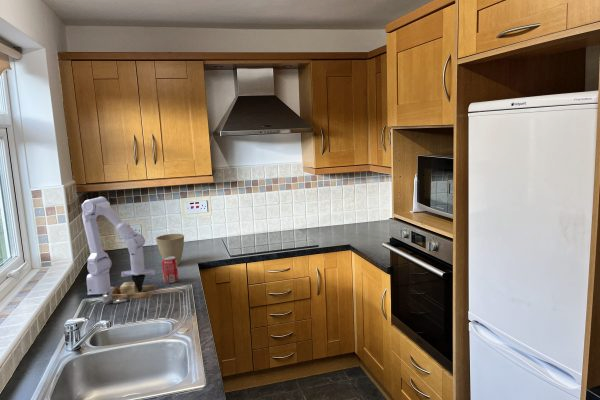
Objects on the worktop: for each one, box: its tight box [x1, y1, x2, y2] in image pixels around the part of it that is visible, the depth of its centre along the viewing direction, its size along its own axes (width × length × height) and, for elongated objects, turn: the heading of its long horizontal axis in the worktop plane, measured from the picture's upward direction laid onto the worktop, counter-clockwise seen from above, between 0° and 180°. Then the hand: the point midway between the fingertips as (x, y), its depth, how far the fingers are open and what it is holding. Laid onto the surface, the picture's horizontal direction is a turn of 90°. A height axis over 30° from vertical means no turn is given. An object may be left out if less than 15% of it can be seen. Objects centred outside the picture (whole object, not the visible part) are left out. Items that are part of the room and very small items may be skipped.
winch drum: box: [102, 291, 114, 305], centre depth 197 cm, size 4×4×5 cm
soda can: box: [161, 256, 179, 284], centre depth 221 cm, size 7×7×12 cm
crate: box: [119, 281, 139, 294], centre depth 205 cm, size 6×6×5 cm
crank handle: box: [113, 295, 131, 305], centre depth 197 cm, size 7×1×2 cm, turn 115°
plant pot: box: [155, 233, 185, 266], centre depth 249 cm, size 15×15×16 cm
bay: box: [109, 284, 157, 301], centre depth 206 cm, size 18×10×3 cm, turn 95°
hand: (140, 290), depth 206 cm, fingers closed
